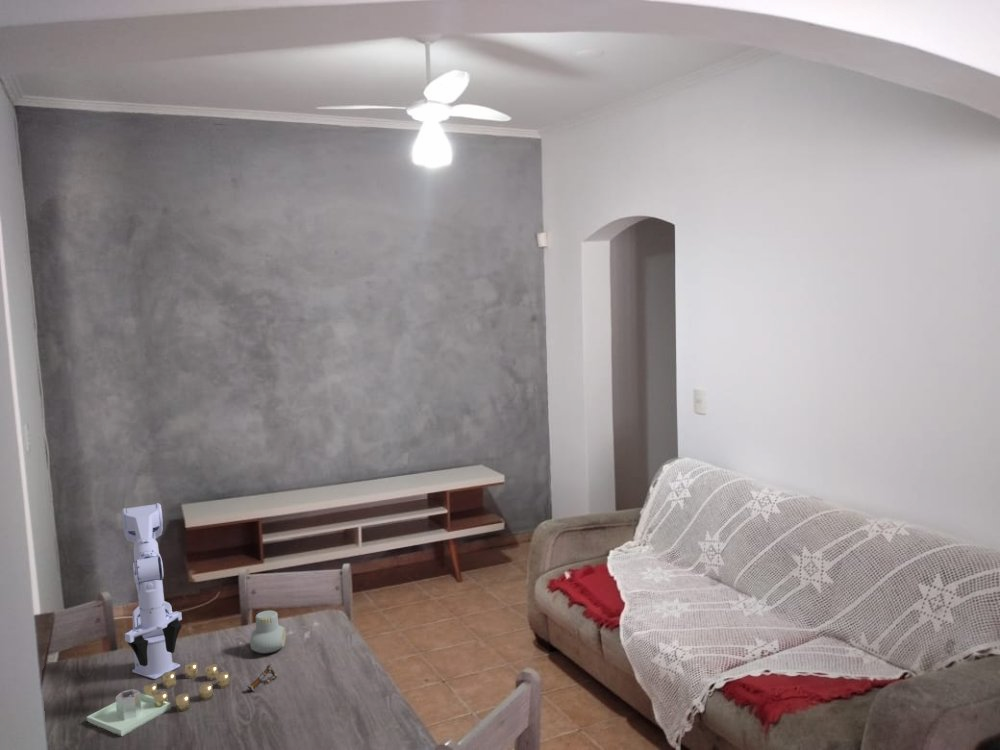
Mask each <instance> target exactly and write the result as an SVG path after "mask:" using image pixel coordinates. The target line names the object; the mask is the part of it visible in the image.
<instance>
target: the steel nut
mask: <svg viewBox="0 0 1000 750" xmlns="http://www.w3.org/2000/svg"><path fill="white" fill-rule="evenodd" d="M140 693H141V692H140V690H137V689H134V688H131V689H127V690H124V691H121V692H119V693H118V694H117V695H116V696H115V702H116V708H117V717H118V718H119V719H122V720H128V719H132V718H135V717H137V716H138V715H139V714H140V712H141V711H142V710H141V701H140Z"/></svg>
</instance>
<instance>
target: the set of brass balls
mask: <svg viewBox="0 0 1000 750" xmlns="http://www.w3.org/2000/svg"><path fill="white" fill-rule="evenodd" d="M218 668H219V666H218V664H216V663H211V664H208V665H206V666H205V667H204V671H205V679H206V681H208V682H206V683H205V682H204V683H201V684H200V685H199V686H198V689H199V691H198V692H199V698H200V701H203V702H205V701H209V700H211V699H213V697H214V691H213V684H212V682H211V681H215V680H216V684H217V685H216V687H217V688H218V689H225V688H226V689H227V688H228V687H229V686H230V685H231V682H230V672H229V671H226V670H225V671H220V672H219V669H218ZM184 669H185V678H186V679H194V678H196V677H198V675H199V670H198V669H199V668H198V662H196V661H191V662H186V664H184ZM161 677H162V686H163V689H170V688H174V687H175V686H177V679H176V672H175V670H172V671H169V672H165V673H164V674H163V675H162V676H161ZM209 681H210V682H209ZM143 694H146V695H149V696H152V697H154V702H155V707H162V706H163V702H164V701H166V702H169V697H168V691H167V690H159V691H158V683H157V682H148V683H146V684H144V686H143ZM190 703H191V701H190V694H189V693H186V692H184V693H180V694H178V695H176V696H175V709H176V711H177V712H181V713H182V712H185V711H188V710H189V709H190V708H191V704H190Z"/></svg>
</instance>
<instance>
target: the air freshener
mask: <svg viewBox="0 0 1000 750" xmlns="http://www.w3.org/2000/svg"><path fill="white" fill-rule="evenodd" d="M278 616H279V615H278V612H277V611H275V610H264V611H261V612H259V613H257V614H256V615H255V627H256V628H255V629H253V631H252V633H251V634H250V635H251V636H250V643H249V644H250V649H251V650H252V651H253V652H255V653H258V654H270V653H274V652H277V651H280V649H283V648H284V647H285V645H286V637H287V632H286V631H287V630H286V628H285V627H284V626H282V625H280V624H279V617H278Z"/></svg>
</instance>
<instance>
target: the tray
mask: <svg viewBox="0 0 1000 750" xmlns="http://www.w3.org/2000/svg"><path fill="white" fill-rule="evenodd" d="M140 701H141V710H142V711H141V712H140V714H139V715H138V716H137V717H135V718H132V719H128V720H122V719H119V718H118V717H117V708H116V701H115V702H113V703H111V704H109V705H107V706H105V707H103V708H101V709H99V710H98V711H96V712H93V713H92V714H89V715H88V716H86V722H87V721H88V722H90V723H92V724H94V725H97V726H99V727H101V728H104V729H106V730H108V731H107V732H109V731H110V732H109V733H111V732H112V734H114V735H116V734H117V736H119V737H121V736H122V737H123V736H125V735H128V734H129V733H132V732H133V731H134V730H137V729H138V728H140V727H141V726H143V725H145V724H146V723H149V722H151V721H152V720H155V719H156V718H158V717H159V716H161V715H163V714H165V713H166V712H168V711H170V710H171V709H172V704H171V702H169V701H168V702H166V701H164V702H163V706H162V707H155V702H154V697H152V696H149V695H146V694H144V692H140ZM94 725H93V726H94ZM99 727H98V728H99ZM101 728H100V729H101ZM104 729H103V730H104ZM106 730H105V731H106Z"/></svg>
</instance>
